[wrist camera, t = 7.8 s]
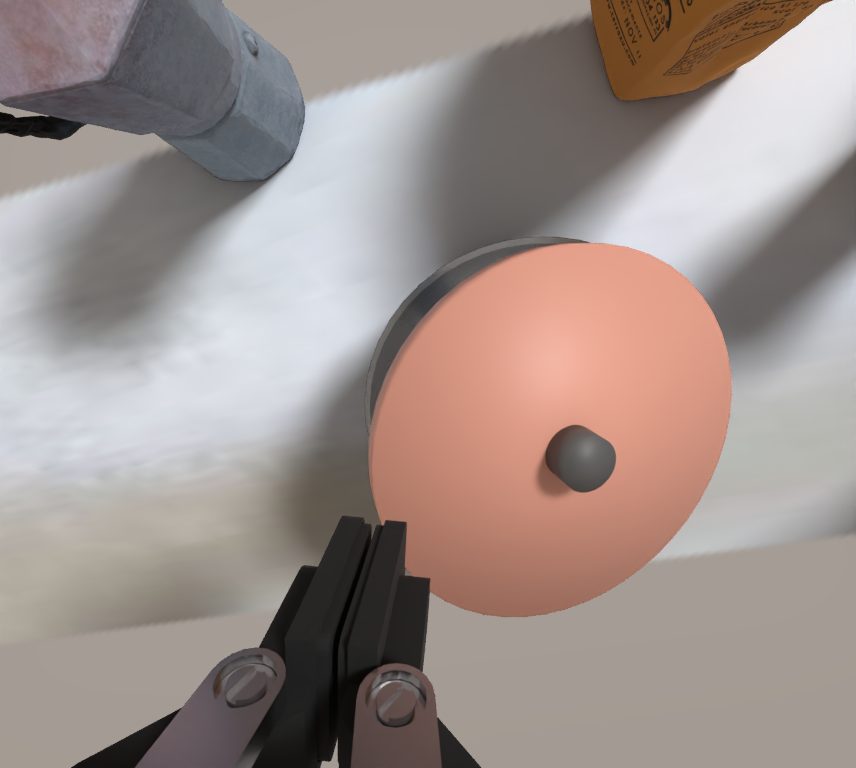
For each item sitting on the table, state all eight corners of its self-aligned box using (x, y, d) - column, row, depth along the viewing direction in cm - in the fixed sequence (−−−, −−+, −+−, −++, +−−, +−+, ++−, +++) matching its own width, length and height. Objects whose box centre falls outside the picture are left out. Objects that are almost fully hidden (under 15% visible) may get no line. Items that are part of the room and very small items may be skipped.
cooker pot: (662, 248, 30) (753, 247, 21) (616, 488, 35) (673, 576, 26) (396, 233, 31) (367, 226, 22) (388, 468, 36) (361, 546, 27)
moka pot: (374, 100, 29) (207, -183, 10) (205, 251, 33) (-159, 252, 14) (275, -43, 28) (-148, -707, 8) (108, 131, 31) (-466, -60, 12)
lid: (746, 254, 21) (805, 256, 19) (670, 572, 26) (709, 606, 23) (372, 228, 16) (387, 226, 14) (364, 626, 21) (374, 676, 18)
